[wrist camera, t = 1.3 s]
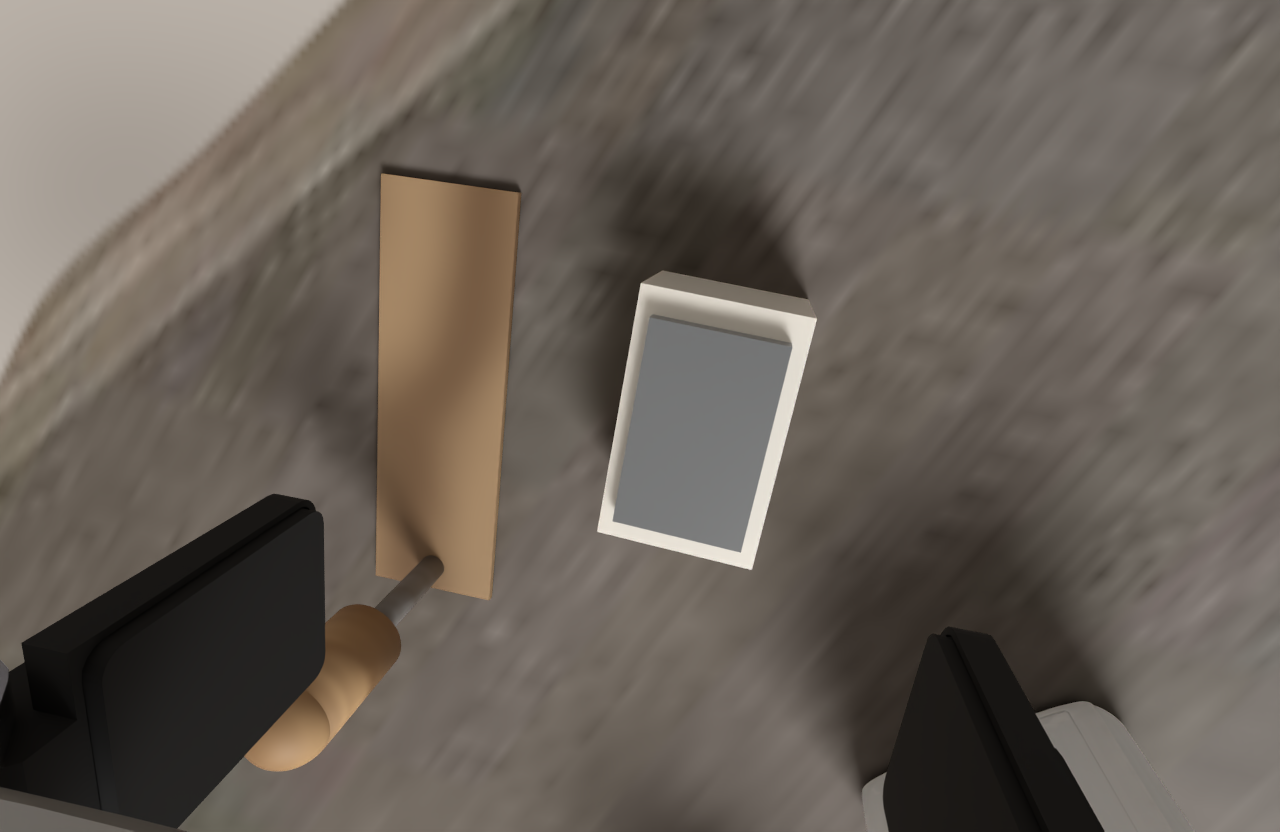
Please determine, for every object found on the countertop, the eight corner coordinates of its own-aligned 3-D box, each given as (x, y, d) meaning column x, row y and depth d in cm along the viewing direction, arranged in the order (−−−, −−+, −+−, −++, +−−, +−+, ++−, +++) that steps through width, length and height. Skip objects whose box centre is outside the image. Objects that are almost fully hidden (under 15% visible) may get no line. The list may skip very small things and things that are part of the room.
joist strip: (521, 192, 24) (518, 192, 23) (491, 596, 28) (489, 600, 28) (385, 173, 24) (381, 173, 24) (379, 571, 29) (375, 575, 29)
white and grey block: (808, 299, 23) (818, 321, 18) (754, 511, 26) (751, 579, 21) (663, 269, 24) (637, 285, 19) (624, 480, 26) (592, 540, 21)
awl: (464, 544, 28) (299, 726, 18) (461, 600, 28) (302, 803, 19) (403, 531, 28) (210, 703, 18) (402, 587, 29) (216, 780, 19)
